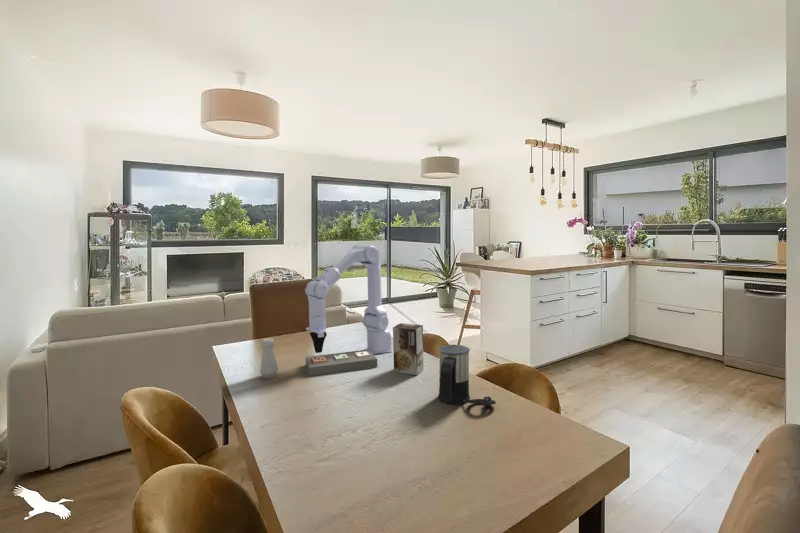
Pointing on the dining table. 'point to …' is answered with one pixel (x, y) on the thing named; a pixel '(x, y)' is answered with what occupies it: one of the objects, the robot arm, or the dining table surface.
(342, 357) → the button two
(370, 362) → the button board
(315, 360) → the button three
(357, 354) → the button one
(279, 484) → the dining table surface
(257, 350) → the dining table surface
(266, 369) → the salt shaker
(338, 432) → the dining table surface
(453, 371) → the milk frother
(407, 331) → the printed cardboard box
